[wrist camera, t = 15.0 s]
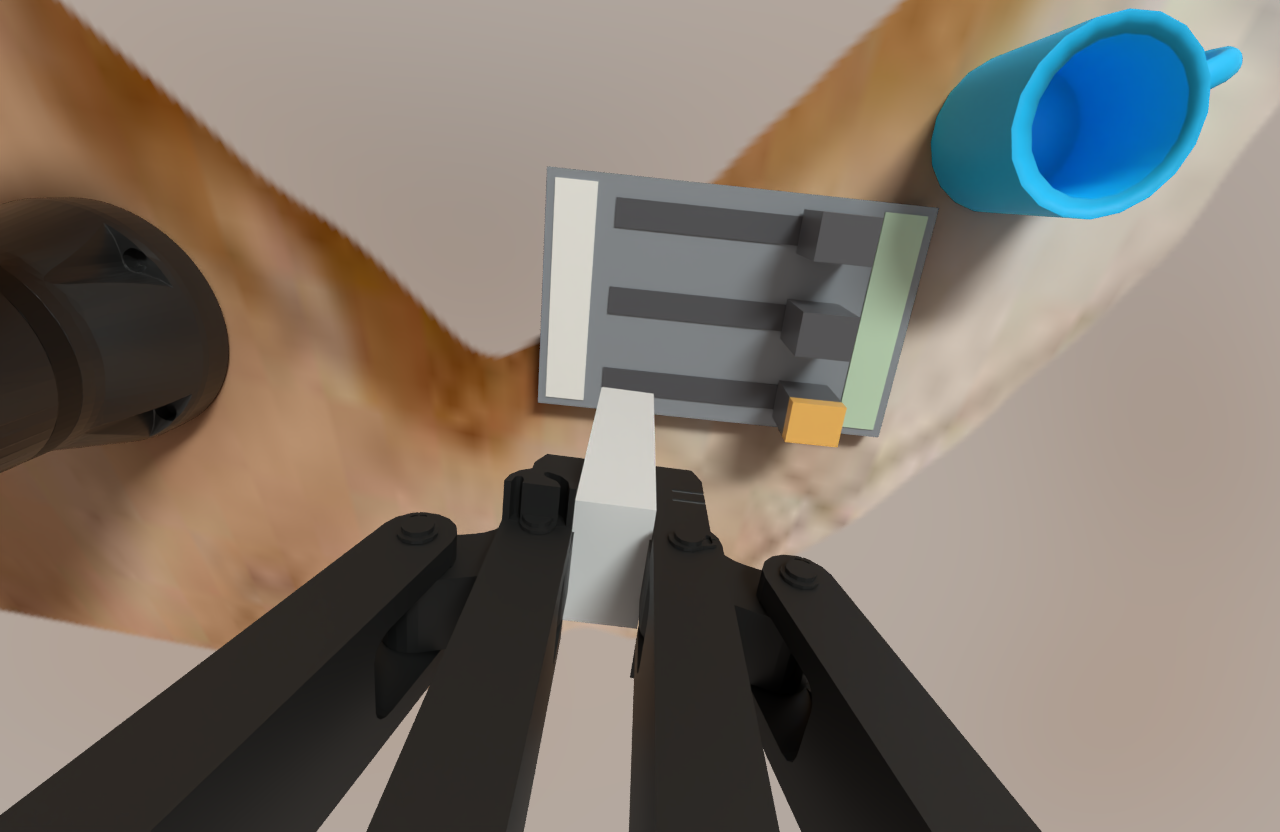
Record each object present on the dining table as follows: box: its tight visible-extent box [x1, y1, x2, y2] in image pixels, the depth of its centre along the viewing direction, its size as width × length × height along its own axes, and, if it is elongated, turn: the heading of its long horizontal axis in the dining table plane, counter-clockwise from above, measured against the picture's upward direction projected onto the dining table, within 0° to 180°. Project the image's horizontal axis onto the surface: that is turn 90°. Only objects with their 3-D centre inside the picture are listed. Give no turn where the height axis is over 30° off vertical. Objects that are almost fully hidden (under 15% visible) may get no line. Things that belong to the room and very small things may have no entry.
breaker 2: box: [780, 299, 860, 362], centre depth 33 cm, size 3×2×4 cm
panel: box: [538, 167, 939, 437], centre depth 36 cm, size 22×14×2 cm, turn 84°
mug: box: [931, 9, 1243, 219], centre depth 29 cm, size 12×8×8 cm
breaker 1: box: [796, 209, 884, 267], centre depth 32 cm, size 3×2×4 cm
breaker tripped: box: [772, 380, 847, 447], centre depth 35 cm, size 3×2×4 cm
